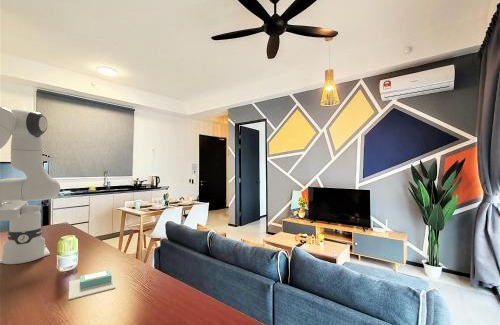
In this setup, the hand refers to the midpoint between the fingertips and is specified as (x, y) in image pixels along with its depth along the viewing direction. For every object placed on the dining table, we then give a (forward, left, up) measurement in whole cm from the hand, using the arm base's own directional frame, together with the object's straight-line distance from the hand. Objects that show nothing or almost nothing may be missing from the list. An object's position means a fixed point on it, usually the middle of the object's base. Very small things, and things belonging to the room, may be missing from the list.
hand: (40, 208), depth 87 cm
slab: (+5, +12, -28) cm, 31 cm away
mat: (+6, +16, -30) cm, 35 cm away
